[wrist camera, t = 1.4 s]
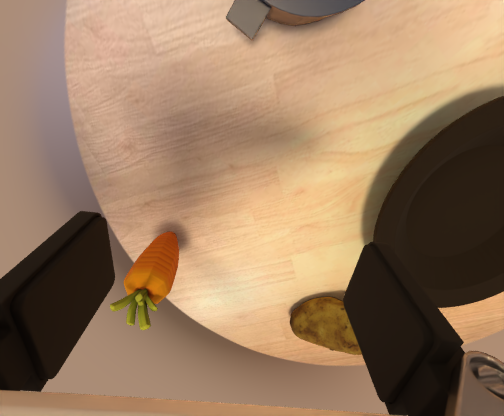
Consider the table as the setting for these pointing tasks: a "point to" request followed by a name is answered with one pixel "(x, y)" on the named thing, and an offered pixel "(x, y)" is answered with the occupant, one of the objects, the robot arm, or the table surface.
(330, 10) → the lid
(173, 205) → the table surface
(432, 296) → the plate
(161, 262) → the carrot
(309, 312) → the potato
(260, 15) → the pot
